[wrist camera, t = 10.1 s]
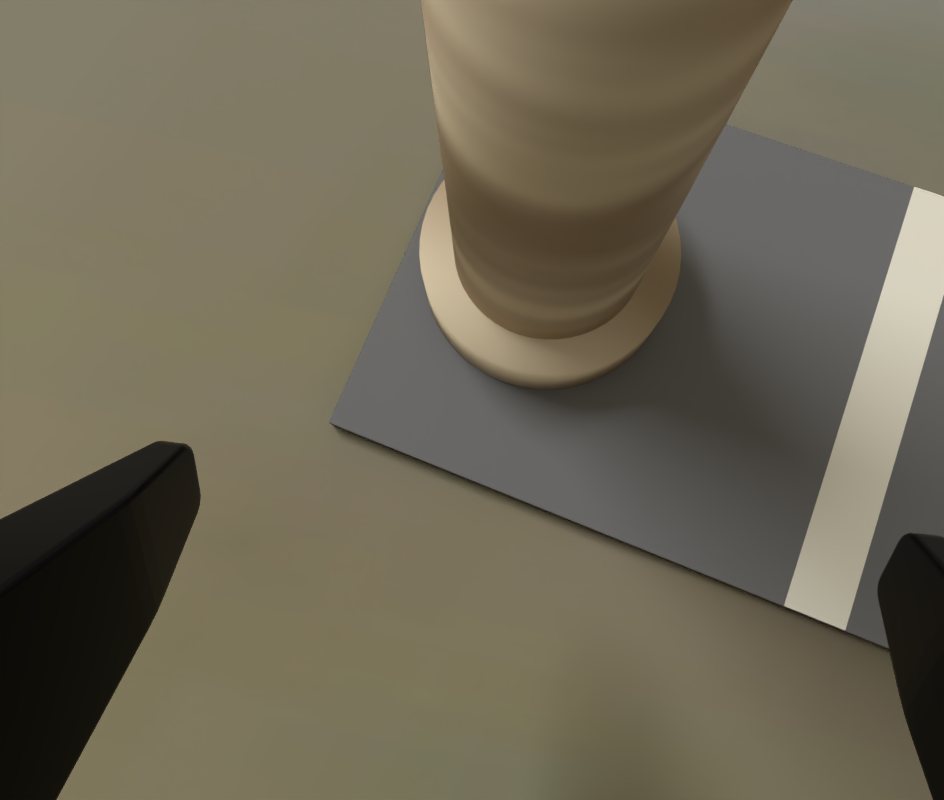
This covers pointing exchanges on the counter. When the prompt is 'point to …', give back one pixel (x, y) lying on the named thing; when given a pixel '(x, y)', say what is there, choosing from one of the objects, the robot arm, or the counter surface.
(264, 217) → the counter surface
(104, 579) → the robot arm
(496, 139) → the beech pin
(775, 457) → the mat
